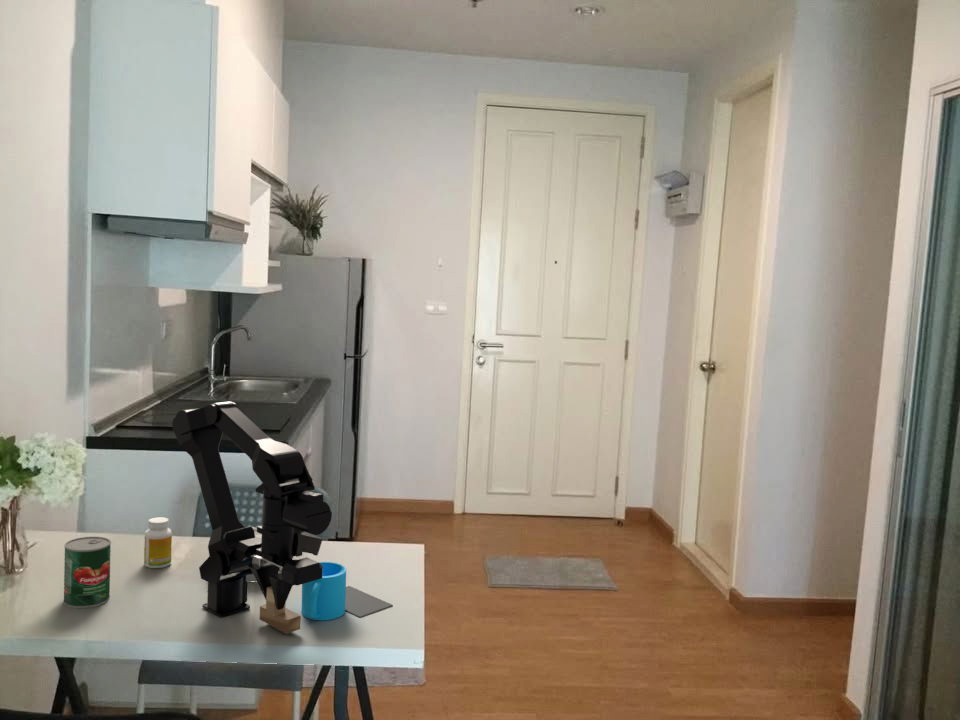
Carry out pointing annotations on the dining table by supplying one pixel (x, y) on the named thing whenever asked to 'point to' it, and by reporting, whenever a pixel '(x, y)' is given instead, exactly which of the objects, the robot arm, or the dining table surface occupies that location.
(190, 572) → the dining table surface
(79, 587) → the canned tomato
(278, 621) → the wooden t-shaped block
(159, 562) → the supplement bottle
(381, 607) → the charcoal mat
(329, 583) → the mug
